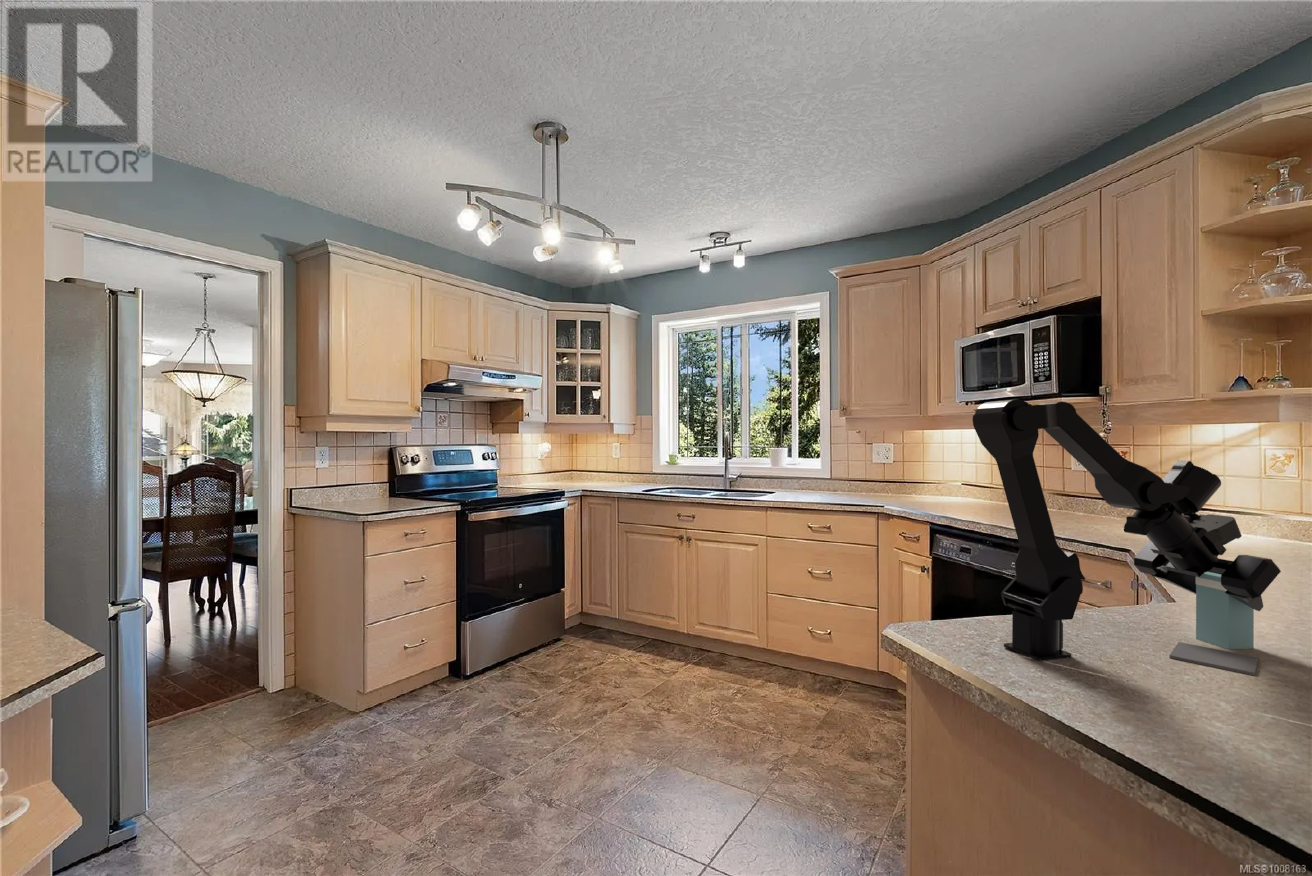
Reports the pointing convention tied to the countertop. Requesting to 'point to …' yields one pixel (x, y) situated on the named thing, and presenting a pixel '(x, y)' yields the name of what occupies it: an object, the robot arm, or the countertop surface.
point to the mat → (1215, 658)
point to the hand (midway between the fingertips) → (1231, 601)
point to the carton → (1222, 615)
